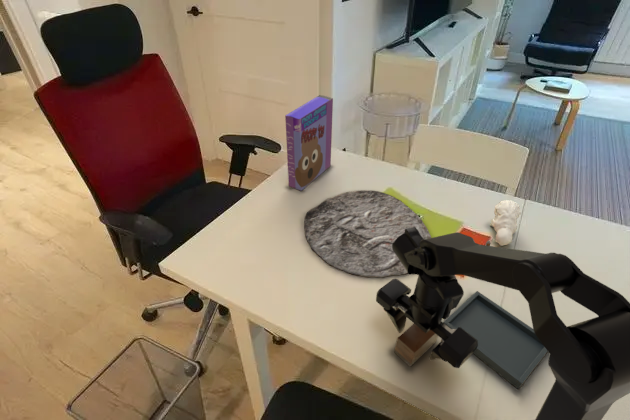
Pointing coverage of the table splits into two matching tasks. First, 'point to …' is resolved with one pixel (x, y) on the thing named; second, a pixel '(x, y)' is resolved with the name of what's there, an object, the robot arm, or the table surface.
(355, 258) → the ancient coin
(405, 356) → the brown rectangular block
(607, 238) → the table surface
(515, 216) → the white plaster bust
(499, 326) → the tray
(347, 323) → the table surface
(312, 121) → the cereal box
